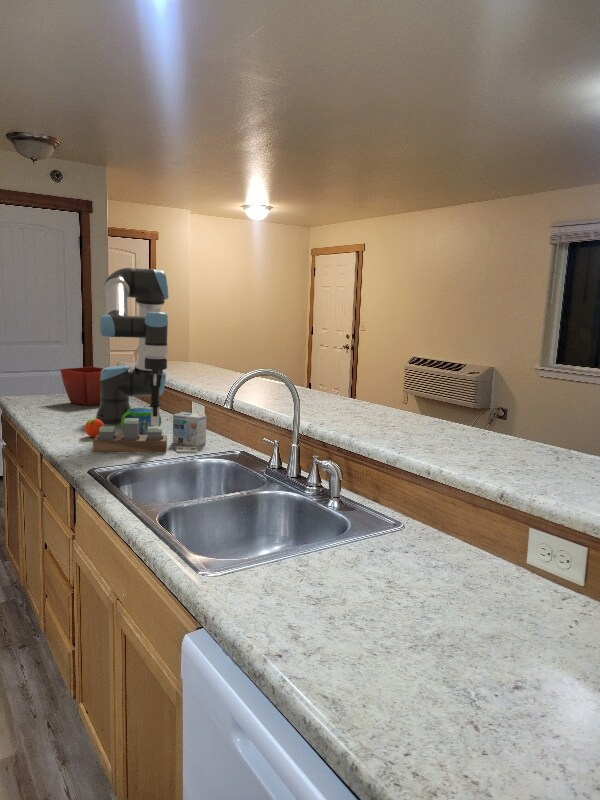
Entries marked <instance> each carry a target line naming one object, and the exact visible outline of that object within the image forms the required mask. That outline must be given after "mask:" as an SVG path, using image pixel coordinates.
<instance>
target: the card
mask: <svg viewBox="0 0 600 800" xmlns="http://www.w3.org/2000/svg"><path fill="white" fill-rule="evenodd" d="M177 452H180V453H181V454H182V453H183V454H184V453H186V454H187V453H189V454H193V453H195V454H197V453H198V446H176V453H177Z"/></svg>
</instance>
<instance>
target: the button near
mask: <svg viewBox="0 0 600 800" xmlns="http://www.w3.org/2000/svg"><path fill="white" fill-rule="evenodd" d="M115 435H116V426H111V425H109V426H107V425H104V426H101V427H100V429H99V439H115Z"/></svg>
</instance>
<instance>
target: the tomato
mask: <svg viewBox="0 0 600 800" xmlns="http://www.w3.org/2000/svg"><path fill="white" fill-rule="evenodd" d="M101 426H105V423H103V422H102V421H101V420H99V419H96V417H94V418H90V419H89V420H87V422H85V426H84V431H85V433H86V434H87V435H88V436H89V437H91V438H95V437H96V435H99V429H100V427H101Z"/></svg>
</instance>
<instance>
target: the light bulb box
mask: <svg viewBox="0 0 600 800" xmlns="http://www.w3.org/2000/svg"><path fill="white" fill-rule="evenodd" d="M172 416H173V419H172V420H173V421H172V444H178V445H185V446H191V447H199V446H201V445H204V444H206V443H207V414H203V413H202V414H200V413H193V412H187V411H186V412H184V411H181V412H178V413H174V414H173V415H172Z"/></svg>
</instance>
